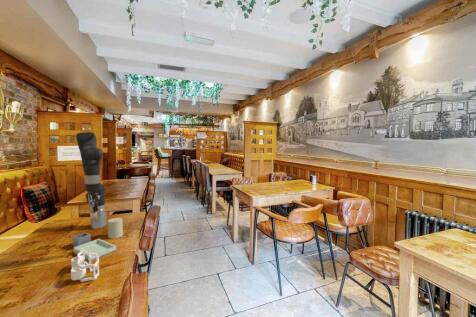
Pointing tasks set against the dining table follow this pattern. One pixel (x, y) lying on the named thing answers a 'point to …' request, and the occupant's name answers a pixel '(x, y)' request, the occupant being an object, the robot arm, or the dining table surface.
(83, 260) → the white wireframe roller cage
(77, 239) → the deep cup
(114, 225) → the can
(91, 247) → the tray
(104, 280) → the dining table surface
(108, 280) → the dining table surface
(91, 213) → the dowel pin
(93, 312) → the dining table surface
